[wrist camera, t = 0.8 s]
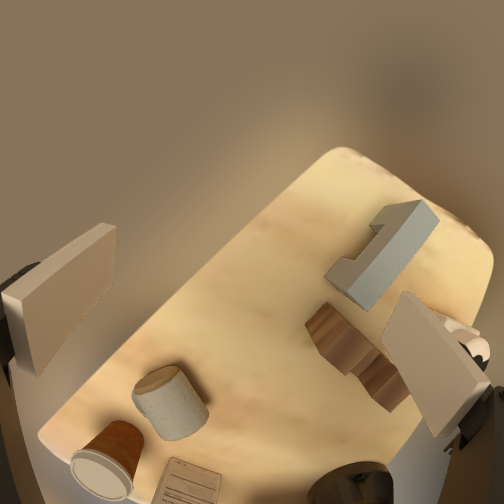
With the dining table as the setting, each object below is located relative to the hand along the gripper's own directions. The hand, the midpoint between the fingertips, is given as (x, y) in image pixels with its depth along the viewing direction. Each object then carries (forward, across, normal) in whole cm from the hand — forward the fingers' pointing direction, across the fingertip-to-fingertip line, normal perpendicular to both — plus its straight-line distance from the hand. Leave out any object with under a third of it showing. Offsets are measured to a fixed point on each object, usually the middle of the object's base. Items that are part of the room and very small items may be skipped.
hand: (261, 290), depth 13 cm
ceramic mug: (+18, +5, +28) cm, 34 cm away
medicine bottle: (+20, -29, +12) cm, 37 cm away
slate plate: (+23, -15, +3) cm, 28 cm away
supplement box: (+13, 0, +45) cm, 47 cm away
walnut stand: (+20, -16, +15) cm, 30 cm away
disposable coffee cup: (+16, +11, +39) cm, 44 cm away
